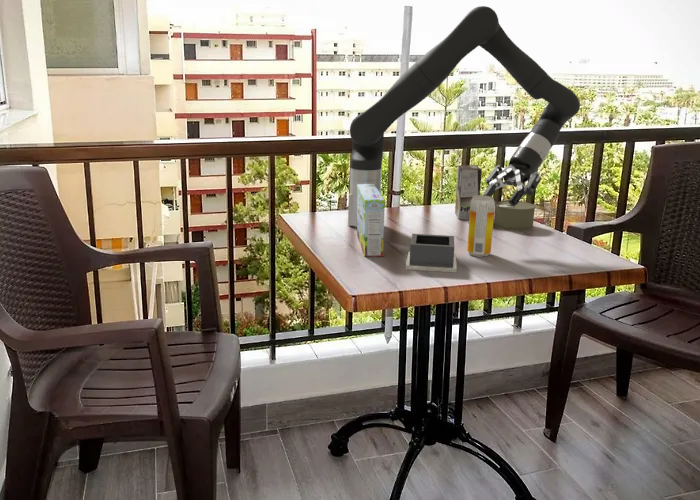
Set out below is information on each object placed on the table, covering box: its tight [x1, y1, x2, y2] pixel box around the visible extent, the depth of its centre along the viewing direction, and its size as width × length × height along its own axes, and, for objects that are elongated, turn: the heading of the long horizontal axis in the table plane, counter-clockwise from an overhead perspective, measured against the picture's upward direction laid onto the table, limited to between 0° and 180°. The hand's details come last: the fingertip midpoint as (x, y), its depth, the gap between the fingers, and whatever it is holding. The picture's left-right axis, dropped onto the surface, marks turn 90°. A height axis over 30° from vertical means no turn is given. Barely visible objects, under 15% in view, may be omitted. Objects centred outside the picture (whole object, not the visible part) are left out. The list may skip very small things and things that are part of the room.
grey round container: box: [493, 200, 537, 232], centre depth 200 cm, size 12×12×7 cm
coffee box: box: [454, 164, 483, 220], centre depth 210 cm, size 9×6×16 cm
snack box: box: [356, 184, 386, 258], centre depth 175 cm, size 21×6×15 cm, turn 5°
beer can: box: [466, 195, 496, 258], centre depth 169 cm, size 6×6×15 cm
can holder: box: [405, 233, 458, 273], centre depth 162 cm, size 12×12×6 cm
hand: (498, 201), depth 171 cm, fingers open, 8 cm apart
